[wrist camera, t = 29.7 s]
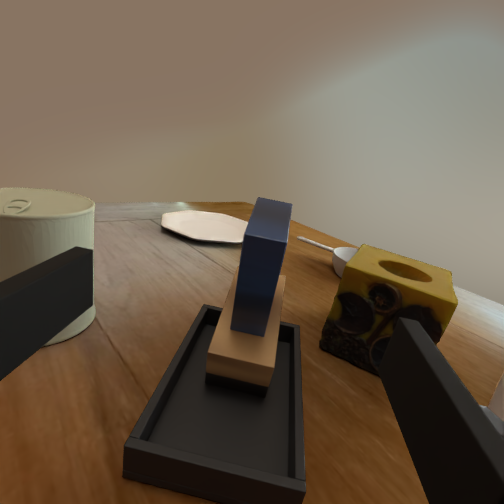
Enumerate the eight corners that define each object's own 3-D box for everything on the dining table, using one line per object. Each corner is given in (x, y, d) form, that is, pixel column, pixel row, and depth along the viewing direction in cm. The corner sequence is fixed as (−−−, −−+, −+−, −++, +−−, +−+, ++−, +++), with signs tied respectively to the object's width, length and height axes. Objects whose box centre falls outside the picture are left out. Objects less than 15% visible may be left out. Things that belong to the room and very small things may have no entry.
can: (-49, 349, 24) (-79, 199, 20) (9, 291, 32) (-4, 177, 28) (82, 348, 27) (79, 215, 22) (104, 295, 35) (105, 190, 31)
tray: (295, 522, 17) (306, 492, 16) (121, 477, 18) (123, 445, 17) (294, 345, 32) (299, 325, 31) (200, 324, 33) (203, 303, 32)
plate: (162, 213, 70) (163, 206, 70) (245, 222, 76) (246, 216, 75) (159, 243, 53) (159, 234, 52) (266, 251, 58) (268, 244, 58)
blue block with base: (265, 398, 24) (303, 270, 17) (204, 383, 25) (216, 251, 17) (278, 304, 33) (307, 194, 26) (233, 294, 34) (249, 182, 26)
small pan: (388, 297, 48) (396, 276, 47) (283, 262, 55) (288, 242, 54) (391, 276, 58) (397, 258, 56) (301, 248, 64) (305, 231, 63)
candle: (339, 311, 41) (361, 242, 38) (420, 344, 37) (453, 269, 34) (314, 347, 33) (340, 262, 29) (416, 396, 28) (460, 303, 25)
